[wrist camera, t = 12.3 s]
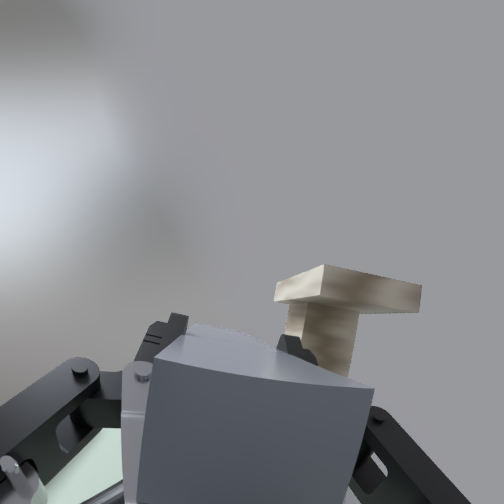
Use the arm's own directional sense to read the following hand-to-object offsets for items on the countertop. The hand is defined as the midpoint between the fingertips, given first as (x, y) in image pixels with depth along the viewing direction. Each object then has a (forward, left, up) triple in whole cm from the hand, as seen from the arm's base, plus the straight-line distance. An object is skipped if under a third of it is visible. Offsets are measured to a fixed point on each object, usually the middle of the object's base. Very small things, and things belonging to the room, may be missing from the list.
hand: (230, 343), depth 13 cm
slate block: (0, +4, -3) cm, 5 cm away
